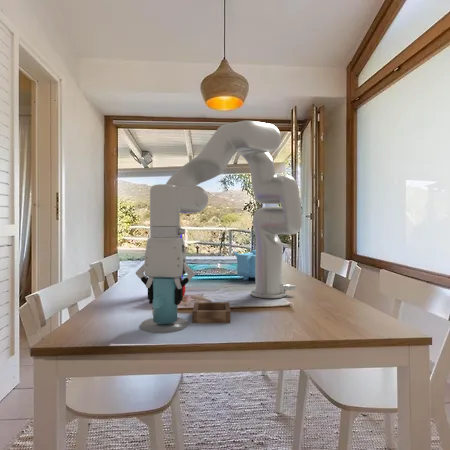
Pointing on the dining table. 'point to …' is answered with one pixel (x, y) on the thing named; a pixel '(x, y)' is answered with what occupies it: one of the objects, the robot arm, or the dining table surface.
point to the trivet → (164, 326)
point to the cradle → (211, 312)
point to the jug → (164, 300)
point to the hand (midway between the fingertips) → (165, 302)
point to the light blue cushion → (246, 265)
